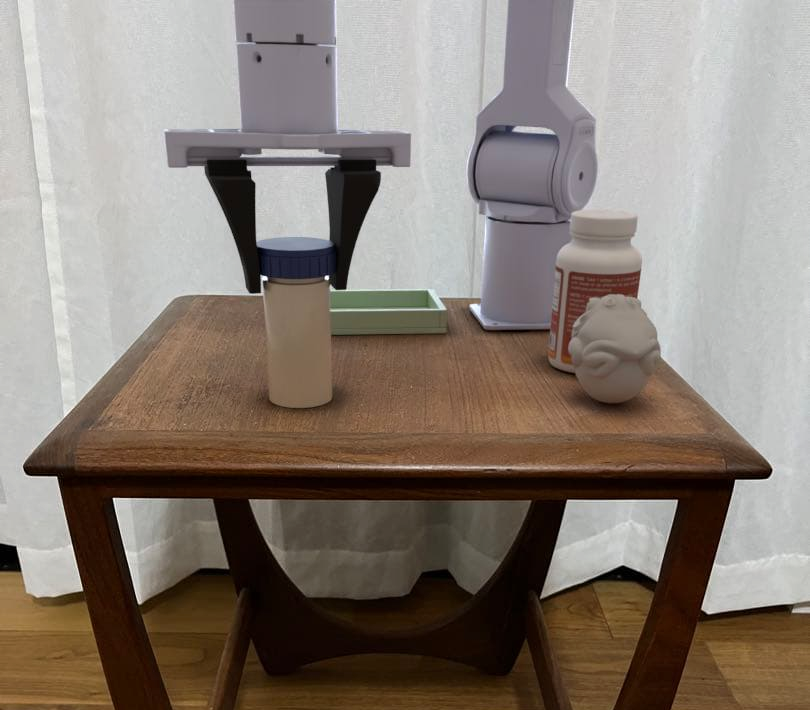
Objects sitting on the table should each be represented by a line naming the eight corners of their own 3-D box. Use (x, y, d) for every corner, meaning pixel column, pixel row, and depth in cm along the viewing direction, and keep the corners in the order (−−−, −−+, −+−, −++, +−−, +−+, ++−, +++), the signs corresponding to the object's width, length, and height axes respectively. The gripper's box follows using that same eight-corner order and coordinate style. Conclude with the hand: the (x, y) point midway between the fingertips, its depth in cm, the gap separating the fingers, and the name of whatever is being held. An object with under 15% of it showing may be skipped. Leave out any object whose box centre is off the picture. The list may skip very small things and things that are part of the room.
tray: (432, 310, 82) (433, 288, 81) (446, 333, 75) (447, 310, 74) (291, 312, 81) (290, 290, 80) (291, 335, 74) (290, 311, 73)
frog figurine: (629, 382, 64) (643, 285, 61) (671, 415, 58) (689, 309, 54) (549, 385, 63) (559, 286, 60) (583, 419, 57) (596, 311, 54)
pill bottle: (645, 369, 67) (668, 216, 61) (586, 382, 64) (605, 222, 58) (588, 350, 71) (605, 205, 66) (530, 361, 68) (543, 210, 63)
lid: (256, 263, 58) (255, 236, 57) (334, 263, 58) (334, 236, 57) (253, 279, 53) (251, 250, 52) (337, 279, 54) (337, 250, 53)
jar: (330, 386, 62) (326, 248, 57) (334, 407, 58) (331, 261, 54) (268, 388, 61) (260, 249, 57) (269, 409, 57) (260, 262, 53)
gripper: (158, 39, 45) (184, 307, 51) (429, 48, 48) (421, 297, 55) (153, 43, 51) (176, 283, 57) (394, 51, 54) (391, 275, 61)
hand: (295, 288), depth 56 cm, fingers closed on lid, 5 cm apart
